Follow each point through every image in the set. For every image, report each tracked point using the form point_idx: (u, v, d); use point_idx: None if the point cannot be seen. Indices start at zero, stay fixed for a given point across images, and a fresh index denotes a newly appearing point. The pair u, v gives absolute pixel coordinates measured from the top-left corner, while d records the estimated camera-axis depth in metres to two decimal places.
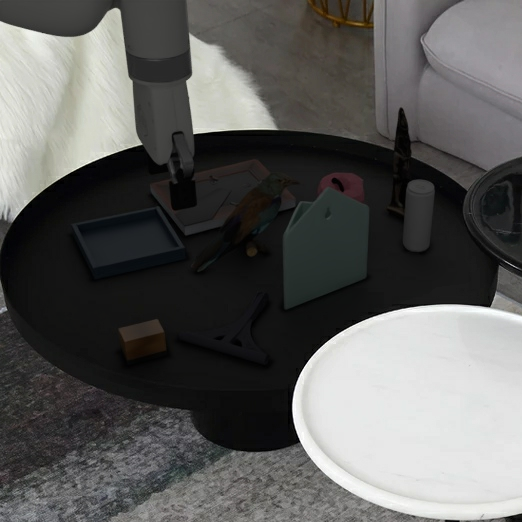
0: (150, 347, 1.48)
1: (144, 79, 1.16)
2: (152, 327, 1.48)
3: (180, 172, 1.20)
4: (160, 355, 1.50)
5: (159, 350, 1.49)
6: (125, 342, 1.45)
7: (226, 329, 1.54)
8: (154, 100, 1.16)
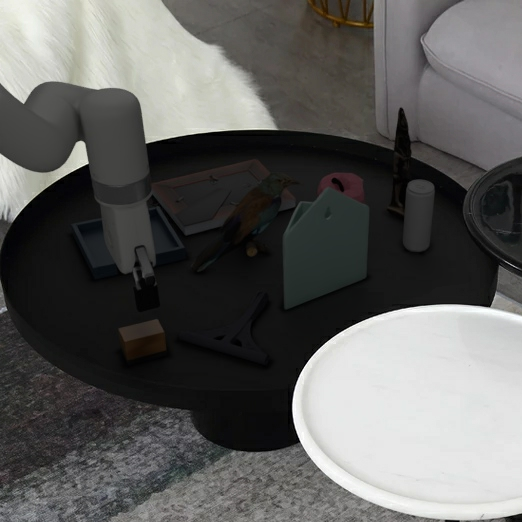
0: (150, 347, 1.48)
1: (108, 202, 1.29)
2: (152, 327, 1.48)
3: (142, 281, 1.33)
4: (160, 355, 1.50)
5: (159, 350, 1.49)
6: (125, 342, 1.45)
7: (226, 329, 1.54)
8: (117, 220, 1.29)
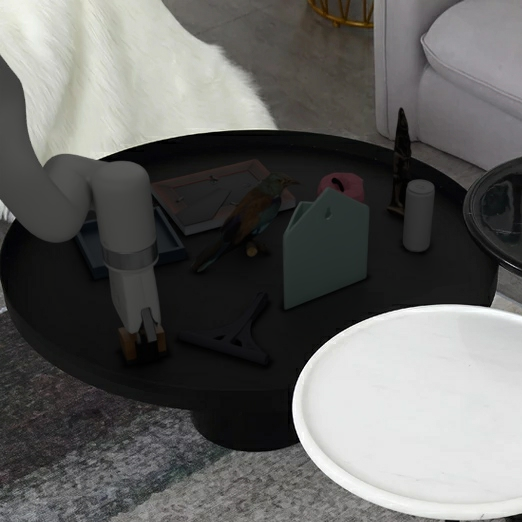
0: None
1: (116, 267, 1.36)
2: None
3: (143, 337, 1.42)
4: (160, 355, 1.50)
5: (159, 350, 1.49)
6: (125, 342, 1.45)
7: (226, 329, 1.54)
8: (125, 284, 1.36)
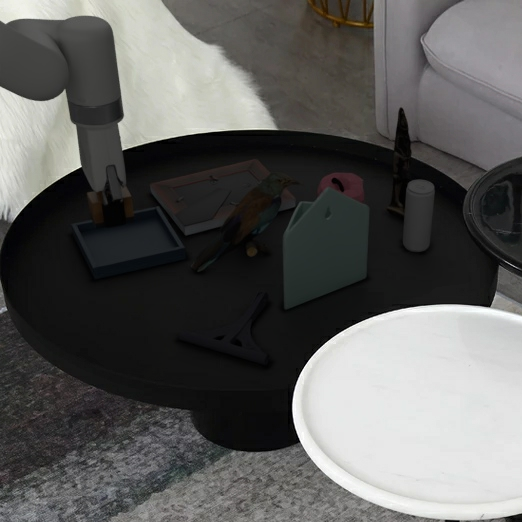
0: None
1: (82, 122, 1.40)
2: None
3: (109, 197, 1.47)
4: (128, 221, 1.54)
5: (127, 215, 1.53)
6: (92, 204, 1.49)
7: (226, 329, 1.54)
8: (89, 139, 1.40)
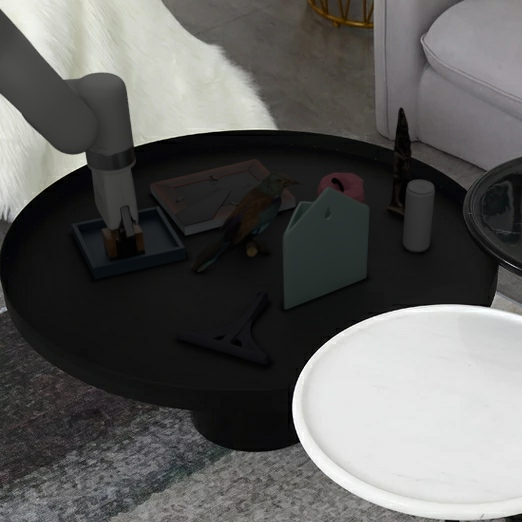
0: None
1: (98, 168, 1.54)
2: None
3: (123, 234, 1.61)
4: (139, 254, 1.68)
5: (138, 249, 1.67)
6: (107, 240, 1.63)
7: (226, 329, 1.54)
8: (105, 183, 1.54)
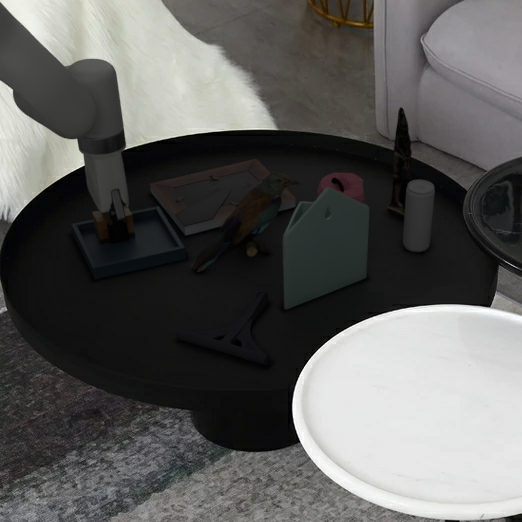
0: None
1: (89, 152, 1.58)
2: None
3: (114, 217, 1.65)
4: (129, 236, 1.72)
5: (128, 232, 1.71)
6: (98, 222, 1.68)
7: (226, 329, 1.54)
8: (96, 167, 1.59)
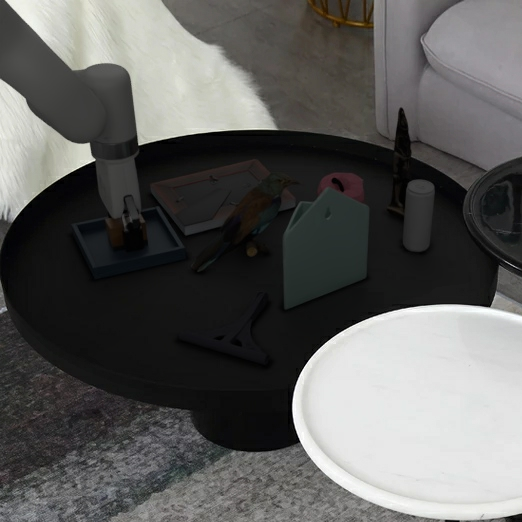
0: None
1: (102, 157, 1.56)
2: None
3: (130, 225, 1.60)
4: None
5: None
6: (111, 229, 1.66)
7: (226, 329, 1.54)
8: (109, 172, 1.57)
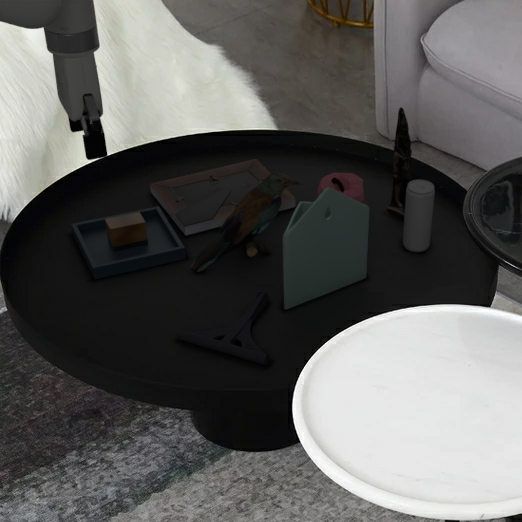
0: (133, 236, 1.69)
1: (58, 50, 1.43)
2: (135, 218, 1.69)
3: (90, 127, 1.47)
4: (142, 244, 1.70)
5: (141, 239, 1.70)
6: (111, 229, 1.66)
7: (226, 329, 1.54)
8: (66, 67, 1.44)
